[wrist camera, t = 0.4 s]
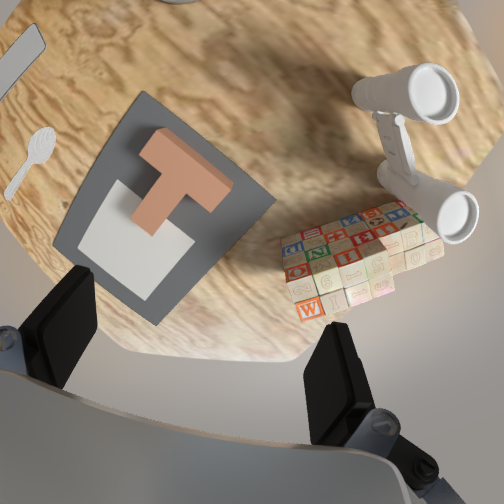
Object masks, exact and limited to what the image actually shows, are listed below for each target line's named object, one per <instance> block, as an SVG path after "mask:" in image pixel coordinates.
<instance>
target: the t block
mask: <svg viewBox="0 0 504 504" xmlns="http://www.w3.org/2000/svg"><path fill="white" fill-rule="evenodd" d="M139 155H140V156H141V157H142V158H143V159H145V160H146V161H147V162H148V163H150V164H151V165H152V166H153V167H155V168H156V169H157V170H158V171H159V172H161V173H162V175H161V176H160V177H159V179H158V180H157V181H156V183H155V184H154V185H153V187H152V188H151V189H150V191H149V192H148V194H147V195H146V196H145V198H144V199H143V201H142V202H141V203H140V205H139V206H138V208H137V209H136V211H135V212H134V213H133V215H132V216H131V218H130V219H131V220H132V221H133V222H134V223H136V224H137V225H138V226H139V227H141V228H142V229H143V230H144V231H146V232H147V233H148V234H149V235H151V236H153V235H154V234H155V232H156V231H157V230H158V229H159V227H160V226H161V225H162V223H163V222H164V221H165V219H166V218H167V217H168V216H169V214H170V213H171V212H172V211H173V209H174V208H175V207H176V206H177V204H178V203H179V202H180V201H181V199H182V198H183V197H184V196H185V194H186V193H187V194H188V195H189V196H190V197H192V198H193V199H194V200H195V201H197V202H198V203H199V204H200V205H201V206H203V207H204V208H205V209H206V210H208V211H209V212H210V213H211V212H212V211H213V210H214V209H215V208H216V206H217V205H218V204H219V203H220V202H221V201H222V200H223V199H224V197H225V196H226V195H227V194H228V193H229V192H230V191H231V189H232V186H233V183H234V182H233V181H231V180H230V179H229V178H228V177H227V176H225V175H224V174H223V173H222V172H221V171H219V170H218V169H217V168H216V167H215V166H213V165H212V164H211V163H210V162H209V161H207V160H206V159H205V158H204V157H202V156H201V155H200V154H199V153H198V152H196V151H195V150H194V149H193V148H191V147H190V146H189V145H188V144H186V143H185V142H184V141H183V140H182V139H180V138H179V137H178V136H177V135H175V134H174V133H173V132H172V131H170V130H169V129H168V128H162V129H158V130H156V132H155V133H154V134H153V136H152V137H151V138H150V140H149V141H148V142H147V144H146V145H145V147H144V148H143V149H142V151H141V152H140V154H139Z"/></svg>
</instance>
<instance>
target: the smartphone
mask: <svg viewBox="0 0 504 504" xmlns="http://www.w3.org/2000/svg"><path fill="white" fill-rule="evenodd" d="M46 47H47V45H46V42H45V40H44V38H43V36H42V34H41V32H40V29H39V27H38V25H37V24H35V23H33V24H31V25H30V26H29V27H28V28H27V29H26V30H25V31H24V32H23V33H22V35H21V36H20V37H19V38H18V39H17V40H16V41H15V42H14V43H13V45H12V46H11V47H10V48H9V49H8V50H7V52H6V53H5V54H4V55H3V56H2V58H1V59H0V103H1V102H2V100H3V99H4V98H5V96H6V95H7V94H8V93H9V91H10V90H11V89H12V88H13V86H14V85H15V84H16V83H17V82H18V80H19V79H20V78H21V77H22V76H23V74H24V73H25V72H26V71H27V70H28V69H29V68H30V66H31V65H32V64H33V63H34V62H35V61H36V60H37V59H38V58H39V57H40V56H41V55H42V54H43V53H44V51H45V50H46Z"/></svg>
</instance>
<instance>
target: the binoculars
mask: <svg viewBox="0 0 504 504" xmlns="http://www.w3.org/2000/svg"><path fill="white" fill-rule="evenodd" d="M351 96H352V100H353V102H354V103H355V105H356V106H357V107H358V108H360V109H361V110H364V111H367V112H373V114H372V118H373V120H376V121H377V122H376V123H377V129H378V132H379V136H380V140H381V143H382V146H383V150H384V153H385V156H386V160H384V161H383V162H382V163H381V164H380V165H379V167H378V169H377V179H378V182H379V183H380V184H381V186H383V187H384V188H385V190H386V191H388V192H389V193H390V194H393V195H395V196H396V197H397V198H398V199H399V200H401V201H403V202H404V203H405V204H406V205H407V206H408V207H410V208H412V209H413V210H415V211H416V212H417V213H418V215H419V216H420V217H421V219H422V220H423V221H424V223H425V224H426V225H427V226H428V227H429V228H430V229H431V230H433V231H434V232H435V233H436V234H437V235H438V236H439V237H440V238H441V239H442V240H443V241H444V242H446V243H449V244H458V243H461V242H462V241H464V240H466V239H467V238H468V237H469V236H470V235H471V233H472V232H473V231H474V229H475V227H476V225H477V221H478V216H479V208H478V203H477V201H476V199H475V197H474V196H473V195H472V194H471V193H469V192H467V191H465V190H463V189H461V188H459V187H457V186H455V185H454V184H452V183H450V182H446V181H442V180H438V179H434V178H432V177H430V176H428V175H426V174H424V173H422V172H420V171H418V170H416V169H415V159H414V155H413V151H412V147H411V143H410V138H409V135H408V134H407V133H406V128H405V126H404V123H405V120H404V117H403V116H406V117H408V118H410V119H412V120H416V121H422V122H427V123H431V124H436V125H440V124H444V123H447V122H448V121H450V120H451V119H452V118H453V117H454V116H455V114H456V112H457V109H458V106H459V92H458V88H457V85H456V82H455V81H454V79H453V77H452V76H451V75H450V73H449V72H448V71H447V70H446V69H445V68H443V67H442V66H440V65H437V64H435V63H422V64H419V65H413V66H408V67H405V68H403V69H401V70H399V71H397V72H396V73H394V74H385V75H381V76H376V77H365V78H363V79H361V80H359V81H357V82H356V83H355V84H354V86H353V87H352V91H351ZM383 112H386V113H390V115H385V114H383ZM400 114H401V115H403V116H401V115H400Z"/></svg>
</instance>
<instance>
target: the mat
mask: <svg viewBox="0 0 504 504" xmlns="http://www.w3.org/2000/svg"><path fill="white" fill-rule="evenodd" d="M162 128H168V129H169V130H170V131H172V132H173V133H174V134H175V135H177V136H178V137H179V138H180V139H182V140H183V141H184V142H185V143H186V144H188V145H189V146H190V147H191V148H193V149H194V150H195V151H196V152H198V153H199V154H200V155H201V156H202V157H204V158H205V159H206V160H207V161H209V162H210V163H211V164H212V165H213V166H215V167H216V168H217V169H218V170H219V171H221V172H222V173H223V174H224V175H225V176H227V177H228V178H229V179H230V180H231V181H233V182H234V183H233V186H232V189H231V191H230V192H229V193H228V194H227V195H226V196H225V197H224V199H223V200H222V201H221V202H220V203H219V204H218V205H217V206H216V208H215V209H214V210H213V211H212V212H211V213H210V212H209V211H208V210H206V209H205V208H204V207H203V206H201V205H200V204H199V203H198V202H197V201H195V200H194V199H193V198H192V197H190V196H189V195H188V194H187V193H186V194H185V196H184V197H183V198H182V199H181V201H180V202H179V203H178V204H177V206H176V207H175V208H174V209H173V211H172V212H171V213H170V214H169V216H168V217H167V218H166V219H165V221H164V222H163V223H162V225H161V226H160V227H159V229H158V230H157V231H156V232H155V234H154V235H153V236H151V235H149V234H148V233H147V232H146V231H144V230H143V229H142V228H141V227H139V226H138V225H137V224H136V223H134V222H133V221H132V220H131V219H130V218H131V216H132V215H133V213H134V212H135V211H136V209H137V208H138V206H139V205H140V203H141V202H142V201H143V199H144V198H145V196H146V195H147V194H148V192H149V191H150V189H151V188H152V187H153V185H154V184H155V183H156V181H157V180H158V179H159V177H160V176H161V175H162V173H161V172H159V171H158V170H157V169H156V168H155V167H153V166H152V165H151V164H150V163H148V162H147V161H146V160H145V159H143V158H142V157H141V156H140V155H139V154H140V152H141V151H142V149H143V148H144V147H145V145H146V144H147V142H148V141H149V140H150V138H151V137H152V136H153V134H154V133H155V132H156V130H158V129H162ZM275 201H276V199H275V198H274V197H273V196H272V195H271V194H269V193H268V192H267V191H266V190H265V189H264V188H263V187H261V186H260V185H259V184H258V183H257V182H256V181H255V180H253V179H252V178H251V177H250V176H249V175H248V174H246V173H245V172H244V171H243V170H242V169H241V168H239V167H238V166H237V165H236V164H235V163H233V162H232V161H231V160H230V159H229V158H228V157H226V156H225V155H224V154H223V153H222V152H220V151H219V150H218V149H217V148H216V147H214V146H213V145H212V144H211V143H209V142H208V141H207V140H206V139H205V138H203V137H202V136H201V135H200V134H198V133H197V132H196V131H195V130H193V129H192V128H191V127H190V126H188V125H187V124H186V123H185V122H183V121H182V120H181V119H180V118H178V117H177V116H176V115H175V114H173V113H172V112H171V111H169V110H168V109H167V108H166V107H164V106H163V105H162V104H160V103H159V102H158V101H157V100H155V99H154V98H153V97H151V96H150V95H149V94H147V93H146V92H145V91H143V92H142V93H141V94H140V96H139V97H138V99H137V100H136V101H135V103H134V104H133V105H132V107H131V108H130V110H129V111H128V112H127V114H126V115H125V117H124V118H123V120H122V121H121V123H120V124H119V126H118V127H117V129H116V130H115V132H114V133H113V135H112V136H111V138H110V139H109V141H108V142H107V144H106V146H105V147H104V149H103V150H102V152H101V154H100V155H99V157H98V159H97V160H96V162H95V164H94V165H93V167H92V169H91V171H90V172H89V174H88V176H87V178H86V179H85V181H84V183H83V185H82V187H81V189H80V190H79V192H78V194H77V196H76V198H75V200H74V202H73V204H72V206H71V208H70V210H69V212H68V214H67V216H66V218H65V220H64V222H63V224H62V226H61V228H60V231H59V233H58V235H57V237H56V239H55V242H54V244H53V247H55V248H56V249H57V250H58V251H59V252H60V253H61V254H63V255H64V256H65V257H66V258H67V259H68V260H70V261H71V262H72V263H73V264H74V265H81V266H85V267H88V268H90V270H91V272H92V273H93V274H94V281H95V282H97V283H98V284H99V285H100V286H102V287H103V288H104V289H106V290H107V291H108V292H109V293H111V294H112V295H113V296H115V297H116V298H117V299H119V300H120V301H121V302H123V303H124V304H125V305H127V306H128V307H130V308H131V309H132V310H134V311H135V312H136V313H138V314H139V315H141V316H142V317H143V318H145V319H146V320H148V321H149V322H151V323H152V324H153V325H155V326H157V325H158V324H159V323H160V322H161V321H162V320H163V318H164V317H165V316H166V315H167V314H168V313H169V312H170V311H171V310H172V309H173V308H174V307H175V306H176V305H177V304H178V302H179V301H180V300H181V299H182V298H183V297H184V296H185V295H186V294H187V293H188V292H189V291H190V290H191V289H192V288H193V287H194V285H195V284H196V283H197V282H198V281H199V280H200V279H201V278H202V277H203V276H204V275H205V274H206V273H207V272H208V271H209V270H210V269H211V268H212V267H213V265H214V264H215V263H216V262H217V261H218V260H219V259H220V258H221V257H222V256H223V255H224V254H225V253H226V252H227V251H228V250H229V249H230V248H231V247H232V246H233V245H234V244H235V243H236V241H237V240H238V239H239V238H240V237H241V236H242V235H243V234H244V233H245V232H246V231H247V230H248V229H249V228H250V227H251V226H252V225H253V224H254V223H255V222H256V221H257V220H258V219H259V218H260V217H261V216H262V215H263V214H264V213H265V212H266V210H267V209H268V208H269V207H270V206H271V205H272V204H273V203H274V202H275Z"/></svg>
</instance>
